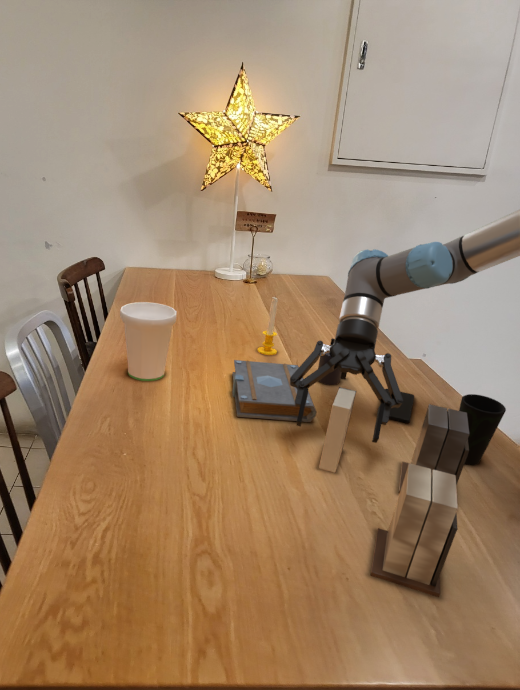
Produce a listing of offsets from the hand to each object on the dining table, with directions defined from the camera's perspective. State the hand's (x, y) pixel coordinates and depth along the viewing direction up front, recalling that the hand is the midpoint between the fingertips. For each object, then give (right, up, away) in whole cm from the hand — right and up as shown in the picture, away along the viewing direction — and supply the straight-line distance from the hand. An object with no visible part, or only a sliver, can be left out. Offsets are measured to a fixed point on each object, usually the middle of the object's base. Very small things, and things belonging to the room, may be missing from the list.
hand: (336, 432), depth 96 cm
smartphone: (+19, +4, +27) cm, 33 cm away
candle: (-8, +19, +50) cm, 54 cm away
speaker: (+6, +10, +36) cm, 38 cm away
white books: (+6, -17, -19) cm, 26 cm away
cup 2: (+27, -6, +10) cm, 29 cm away
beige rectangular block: (0, -5, +4) cm, 7 cm away
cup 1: (-38, +12, +30) cm, 50 cm away
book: (-10, +6, +25) cm, 27 cm away
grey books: (+16, -9, -1) cm, 18 cm away
